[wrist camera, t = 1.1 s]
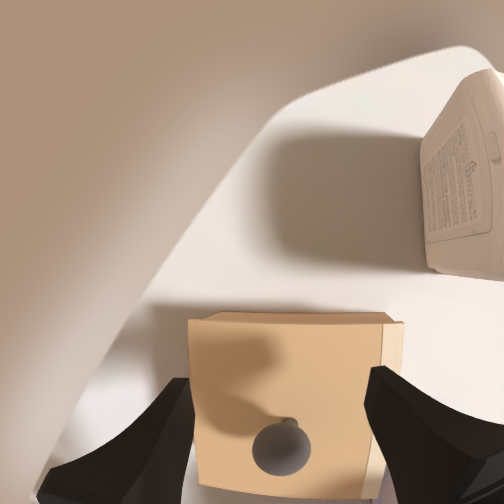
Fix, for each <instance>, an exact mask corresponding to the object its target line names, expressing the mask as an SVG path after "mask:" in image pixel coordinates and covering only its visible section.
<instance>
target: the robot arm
mask: <svg viewBox="0 0 504 504" xmlns="http://www.w3.org/2000/svg"><path fill="white" fill-rule="evenodd" d="M363 405H364V408H365V412H366V416H367V419H368V422H369V425H370V428H371V430H372V432H373V434H374V437H375V439H376V441H377V443H378V446H379V448H380V450H381V452H382V454H383V457H384V459H385V461H386V467H385V471H384V475H383V480H382V484H381V488H380V492H379V496H378V499H372V503H371V504H504V425H502V424H497V423H492V422H488V421H484V420H481V419H477V418H474V417H472V416H469V415H466V414H463V413H461V412H458V411H456V410H454V409H452V408H450V407H448V406H446V405H444V404H442V403H440V402H438V401H437V400H435V399H433V398H431V397H430V396H428V395H427V394H425V393H423V392H422V391H420V390H419V389H417V388H416V387H415V386H413V385H412V384H410V383H409V382H407V381H406V380H405V379H403V378H402V377H401V376H399V375H398V374H396V373H395V372H394V371H392V370H391V369H389V368H388V367H387V366H385V365H383V366H376V367H371V370H370V375H369V380H368V385H367V390H366V395H365V399H364V404H363ZM194 427H195V410H194V404H193V399H192V394H191V388H190V382H189V378H173V379H172V380H171V381H170V382H169V383H168V385H167V386H166V387H165V388H164V390H163V391H162V392H161V393H160V394H159V396H158V397H157V398H156V399H155V400H154V401H153V402H152V404H151V405H150V406H149V407H148V408H147V409H146V410H145V411H144V412H143V413H142V414H141V415H140V416H139V417H138V418H137V419H136V420H135V421H134V422H133V423H132V424H131V425H130V426H129V427H127V428H126V429H125V430H124V431H123V432H121V433H120V434H119V435H117V436H116V437H115V438H113V439H112V440H110V441H109V442H107V443H106V444H104V445H103V446H101V447H99V448H98V449H96V450H94V451H92V452H91V453H89V454H87V455H85V456H83V457H80V458H78V459H76V460H74V461H71V462H69V463H66V464H63V465H60V466H57V467H55V468H51V469H50V470H49V472H48V474H47V475H46V477H45V479H44V481H43V483H42V485H41V487H40V489H39V491H38V493H37V496H36V497H37V500H38V502H39V503H40V504H181V495H182V486H183V480H184V476H185V471H186V467H187V463H188V458H189V454H190V450H191V445H192V441H193V436H194Z"/></svg>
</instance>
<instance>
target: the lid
mask: <svg viewBox="0 0 504 504" xmlns="http://www.w3.org/2000/svg"><path fill="white" fill-rule="evenodd" d="M403 338H404V323H403V322H402V321H396V322H360V323H289V322H252V321H227V320H208V319H189V320H188V349H189V370H190V387H191V394H192V399H193V404H194V410H195V427H194V441H195V451H196V461H197V471H198V480H199V484H201V485H206V486H211V487H216V488H221V489H226V490H232V491H238V492H245V493H252V494H260V495H268V496H278V497H289V498H304V499H378V496H379V492H380V488H381V484H382V480H383V475H384V471H385V467H386V461H385V459H384V457H383V454H382V452H381V450H380V448H379V446H378V443H377V441H376V439H375V437H374V434H373V432H372V430H371V428H370V425H369V422H368V419H367V416H366V412H365V408H364V405H363V404H364V399H365V395H366V390H367V385H368V380H369V375H370V370H371V367H376V366H383V365H385V366H387V367H388V368H389V369H391V370H392V371H394V372H395V373H396V374H398V375H399V376H400V373H401V363H402V352H403Z"/></svg>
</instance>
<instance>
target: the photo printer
mask: <svg viewBox="0 0 504 504" xmlns="http://www.w3.org/2000/svg"><path fill="white" fill-rule="evenodd" d="M420 168H421V183H422V198H423V215H424V236H425V252H426V260H427V265H428V267H429V268H433V269H434V270H436V271H437V272H439V273H441V274H445V275H453V276H460V277H468V278H476V279H485V280H494V281H503V282H504V73H501V72H497V71H495V70H493V69H485V70H481V71H478V72H475V73H473V74H471V75H469V76H467V77H466V78H464V79H463V80H462V81H461V82H460V83H459V85H458V86H457V88H456V90H455V91H454V93H453V94H452V96H451V98H450V99H449V101H448V102H447V104H446V105H445V107H444V108H443V110H442V112H441V113H440V114H439V116H438V118H437V119H436V120H435V122H434V123H433V125H432V126H431V128H430V129H429V131H428V132H427V133H426V135H425V136H424V138H423V139H422V141H421V146H420Z"/></svg>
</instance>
